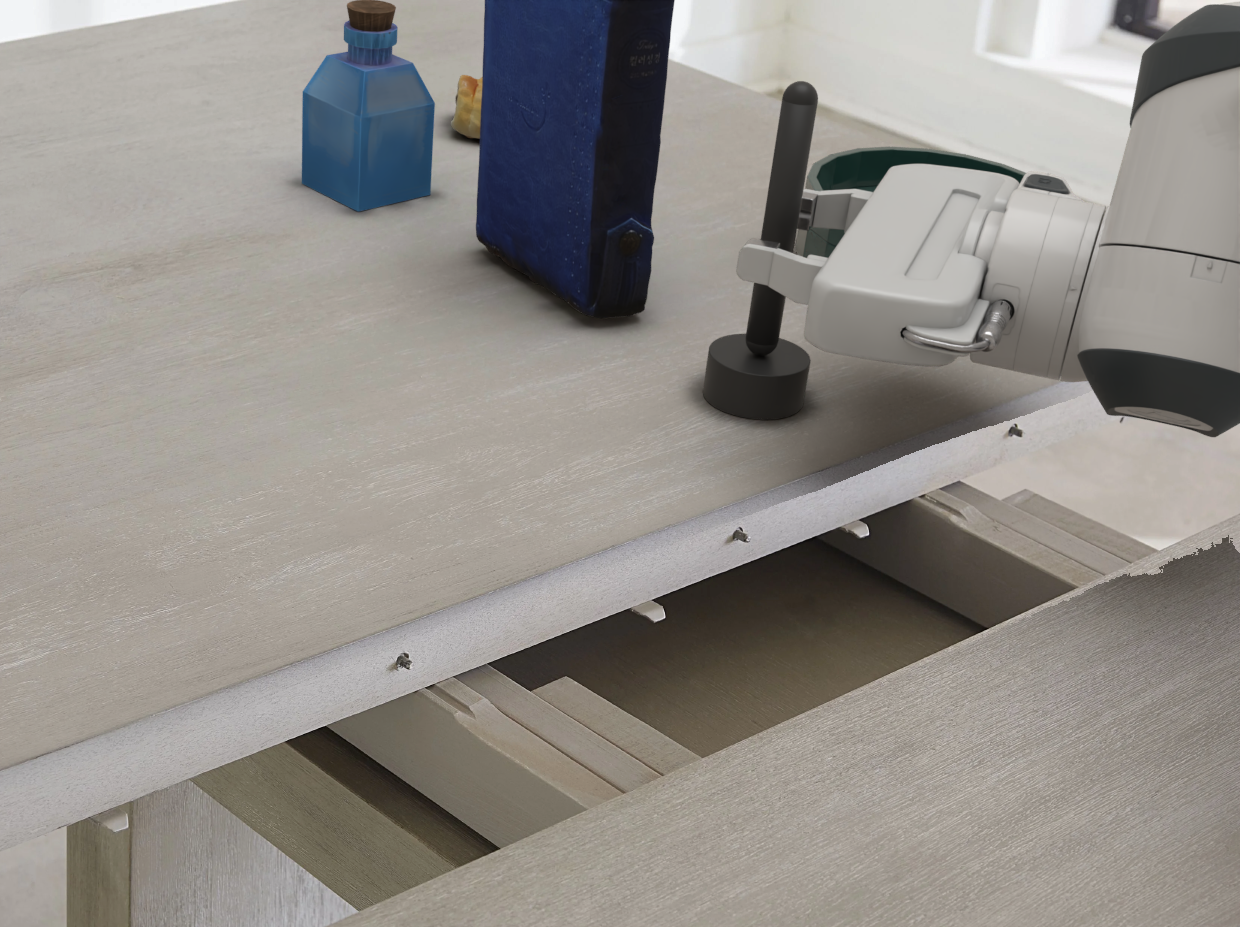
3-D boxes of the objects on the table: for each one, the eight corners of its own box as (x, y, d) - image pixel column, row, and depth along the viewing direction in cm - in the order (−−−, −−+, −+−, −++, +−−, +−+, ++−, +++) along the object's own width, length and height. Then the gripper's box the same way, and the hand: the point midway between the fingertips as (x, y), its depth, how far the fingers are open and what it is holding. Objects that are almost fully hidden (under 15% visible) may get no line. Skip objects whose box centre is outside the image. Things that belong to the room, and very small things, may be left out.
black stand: (794, 378, 108) (846, 68, 98) (811, 422, 103) (868, 101, 94) (696, 373, 108) (740, 62, 98) (709, 417, 103) (756, 95, 93)
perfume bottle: (301, 183, 129) (303, 0, 122) (373, 167, 132) (379, -12, 125) (358, 211, 125) (363, 24, 118) (430, 194, 128) (439, 12, 122)
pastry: (575, 121, 143) (579, 70, 141) (578, 152, 138) (583, 99, 136) (451, 113, 143) (453, 62, 141) (449, 143, 138) (452, 90, 135)
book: (659, 320, 113) (702, -28, 102) (585, 334, 111) (621, -21, 100) (530, 237, 123) (556, -90, 112) (460, 249, 121) (479, -84, 109)
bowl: (1009, 233, 130) (1028, 153, 127) (1078, 329, 117) (1100, 243, 114) (776, 220, 129) (789, 140, 126) (819, 316, 116) (834, 229, 113)
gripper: (978, 418, 90) (700, 357, 94) (1037, 275, 106) (797, 228, 110) (1008, 293, 87) (717, 235, 90) (1064, 165, 103) (815, 119, 106)
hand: (762, 230), depth 100 cm, fingers open, 7 cm apart
